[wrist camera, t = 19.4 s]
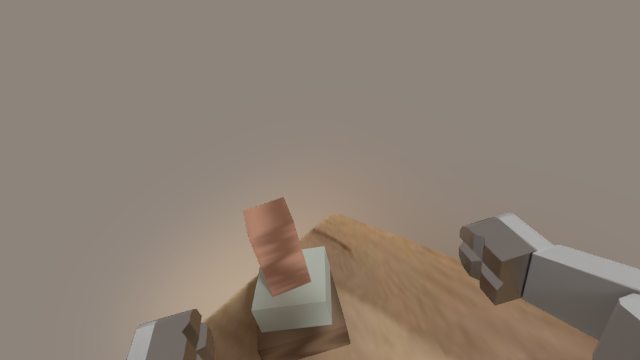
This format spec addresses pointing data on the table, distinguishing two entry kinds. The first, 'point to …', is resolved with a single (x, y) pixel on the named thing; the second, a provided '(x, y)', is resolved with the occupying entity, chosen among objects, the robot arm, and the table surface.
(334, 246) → the table surface
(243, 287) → the table surface
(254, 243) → the terracotta tall block
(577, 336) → the table surface
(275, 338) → the walnut base block
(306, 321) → the sage top block
